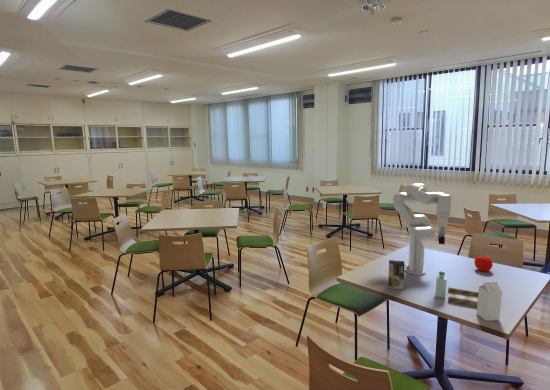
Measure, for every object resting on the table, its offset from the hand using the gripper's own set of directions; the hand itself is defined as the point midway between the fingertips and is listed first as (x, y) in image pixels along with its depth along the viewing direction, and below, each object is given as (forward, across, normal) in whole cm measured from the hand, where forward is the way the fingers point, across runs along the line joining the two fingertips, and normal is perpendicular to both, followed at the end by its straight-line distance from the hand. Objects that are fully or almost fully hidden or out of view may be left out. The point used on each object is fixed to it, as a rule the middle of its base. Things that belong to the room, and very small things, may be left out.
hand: (441, 241), depth 204 cm
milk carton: (+28, +33, +22) cm, 49 cm away
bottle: (+28, +15, +1) cm, 32 cm away
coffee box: (+29, +13, -24) cm, 40 cm away
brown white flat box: (+28, +15, +15) cm, 35 cm away
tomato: (+29, -40, +29) cm, 57 cm away
